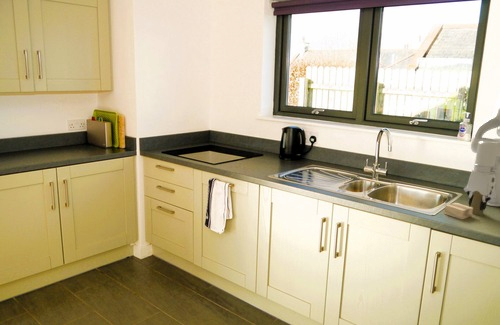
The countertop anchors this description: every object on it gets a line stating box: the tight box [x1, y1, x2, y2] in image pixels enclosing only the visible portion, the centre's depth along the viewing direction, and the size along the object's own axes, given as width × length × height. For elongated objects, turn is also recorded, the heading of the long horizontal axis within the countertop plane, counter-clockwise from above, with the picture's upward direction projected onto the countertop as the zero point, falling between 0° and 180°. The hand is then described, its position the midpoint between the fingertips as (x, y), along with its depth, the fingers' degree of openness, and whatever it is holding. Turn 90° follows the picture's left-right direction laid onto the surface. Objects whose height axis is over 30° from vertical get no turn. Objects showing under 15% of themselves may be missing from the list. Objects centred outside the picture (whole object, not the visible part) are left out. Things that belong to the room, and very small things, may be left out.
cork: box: [470, 191, 485, 216], centre depth 190 cm, size 6×6×11 cm
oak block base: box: [443, 202, 473, 220], centre depth 186 cm, size 8×8×4 cm
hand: (476, 207), depth 190 cm, fingers open, 4 cm apart
